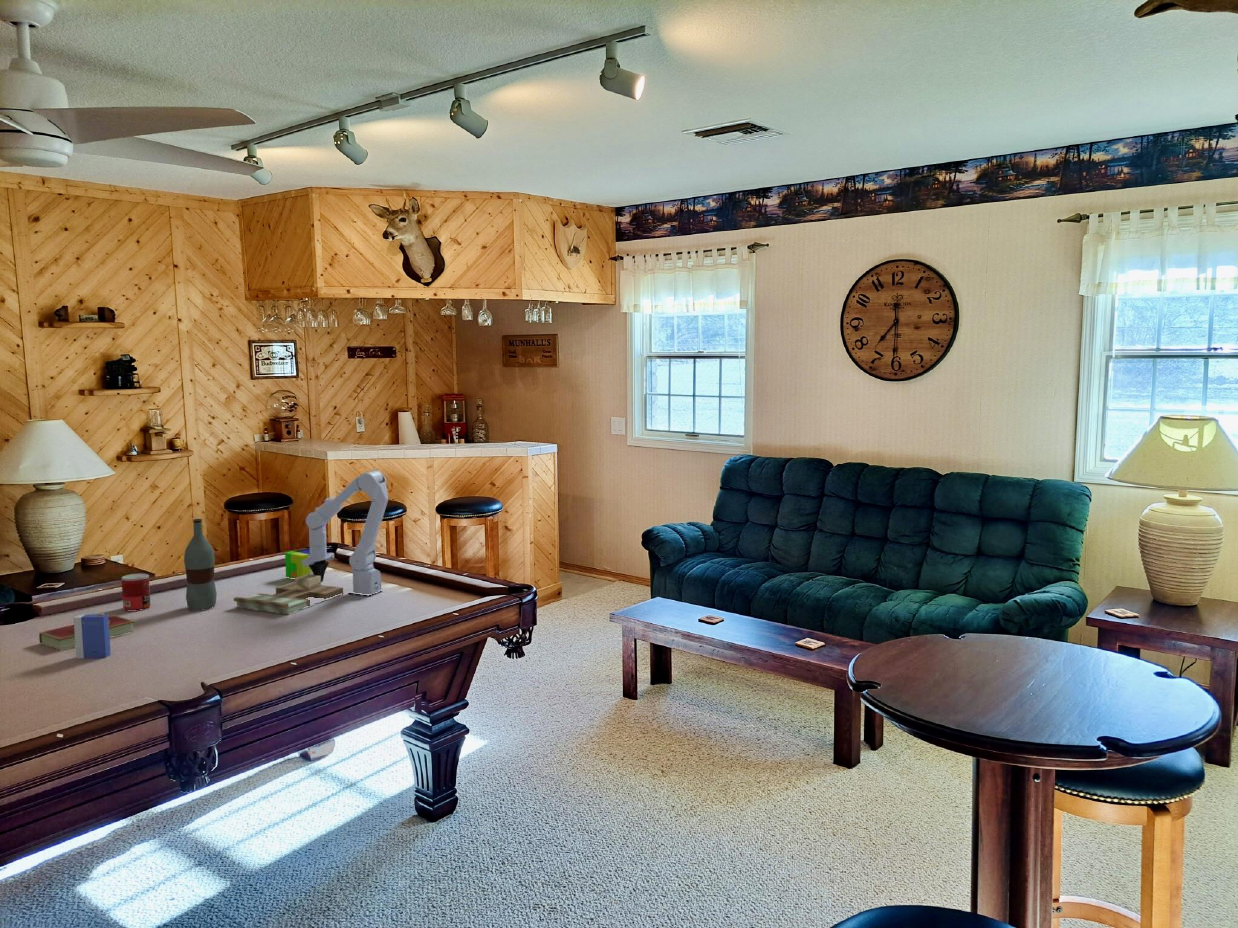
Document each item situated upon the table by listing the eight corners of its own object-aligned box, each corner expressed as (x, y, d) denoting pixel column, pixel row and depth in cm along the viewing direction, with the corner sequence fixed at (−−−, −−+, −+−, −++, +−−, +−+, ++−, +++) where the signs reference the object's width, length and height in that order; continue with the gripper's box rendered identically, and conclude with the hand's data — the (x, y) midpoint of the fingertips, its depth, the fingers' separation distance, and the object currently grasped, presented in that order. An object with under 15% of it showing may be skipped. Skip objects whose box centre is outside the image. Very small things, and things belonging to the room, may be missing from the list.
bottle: (222, 603, 289) (218, 517, 286) (207, 611, 280) (202, 522, 277) (196, 603, 290) (192, 516, 287) (180, 610, 281) (175, 521, 278)
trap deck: (343, 594, 302) (342, 584, 301) (286, 615, 276) (285, 604, 276) (294, 588, 310) (293, 578, 309) (234, 608, 284) (233, 597, 283)
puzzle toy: (324, 576, 328) (323, 551, 327) (302, 581, 320) (301, 555, 319) (307, 573, 333) (307, 548, 332) (286, 578, 325) (284, 552, 324)
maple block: (320, 586, 303) (320, 575, 302) (309, 590, 297) (308, 579, 297) (307, 585, 305) (307, 574, 304) (295, 589, 299) (295, 578, 299)
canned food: (148, 610, 281) (147, 577, 280) (121, 612, 278) (119, 579, 277) (152, 604, 288) (150, 572, 287) (125, 606, 286) (123, 574, 284)
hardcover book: (39, 645, 247) (38, 631, 246) (114, 627, 264) (113, 613, 264) (60, 652, 240) (59, 638, 240) (135, 633, 258) (134, 620, 258)
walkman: (110, 654, 238) (108, 612, 237) (105, 657, 235) (103, 615, 234) (81, 655, 237) (78, 613, 236) (75, 658, 235) (73, 616, 233)
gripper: (322, 540, 313) (324, 576, 314) (294, 547, 299) (296, 585, 301) (338, 541, 310) (339, 577, 312) (310, 549, 297) (312, 587, 298)
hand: (319, 581), depth 306 cm, fingers closed
